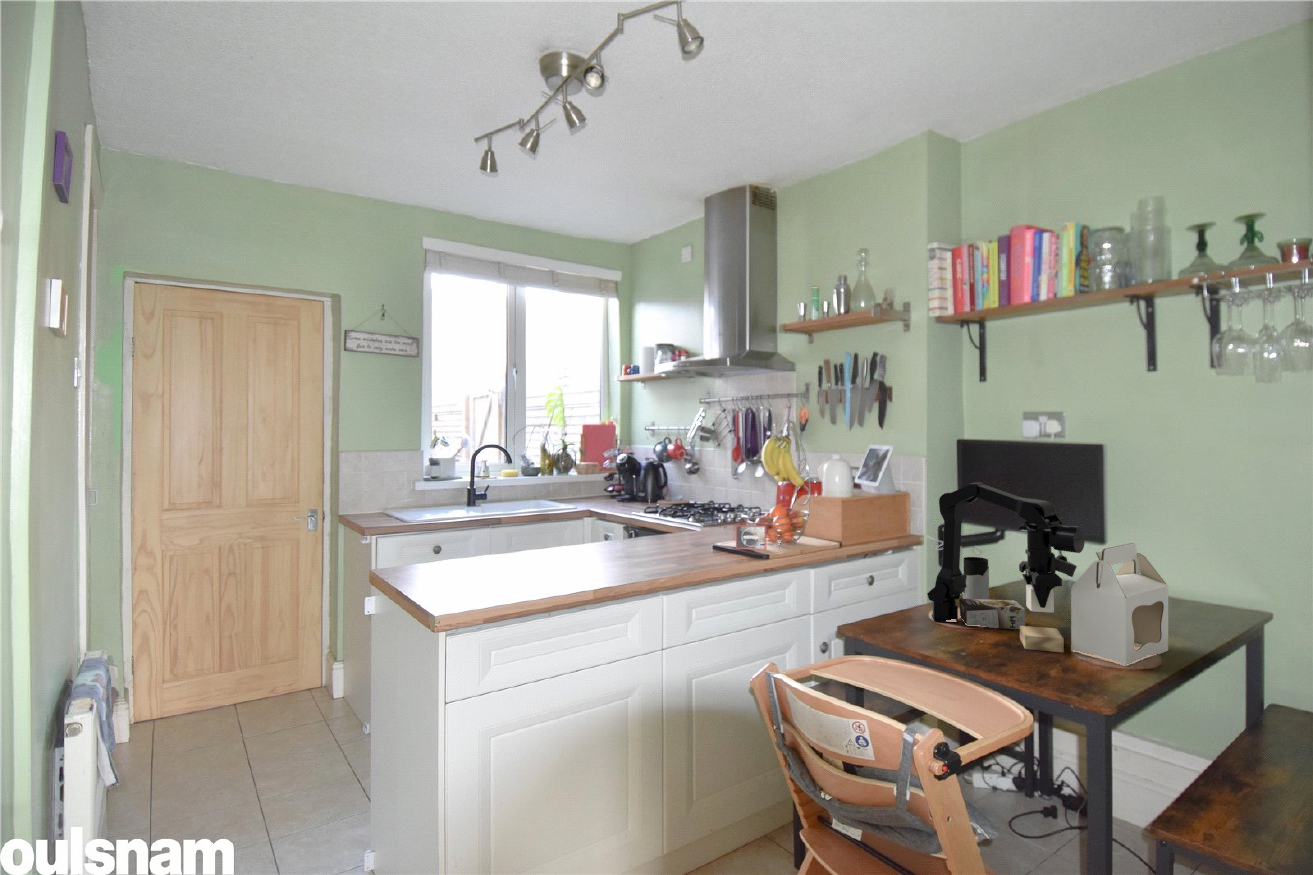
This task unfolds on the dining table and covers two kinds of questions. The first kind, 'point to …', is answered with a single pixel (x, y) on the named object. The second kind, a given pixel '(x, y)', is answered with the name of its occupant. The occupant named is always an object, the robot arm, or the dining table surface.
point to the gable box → (1120, 607)
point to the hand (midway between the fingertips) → (1039, 604)
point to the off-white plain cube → (1033, 602)
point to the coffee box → (992, 613)
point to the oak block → (1041, 639)
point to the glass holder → (976, 578)
